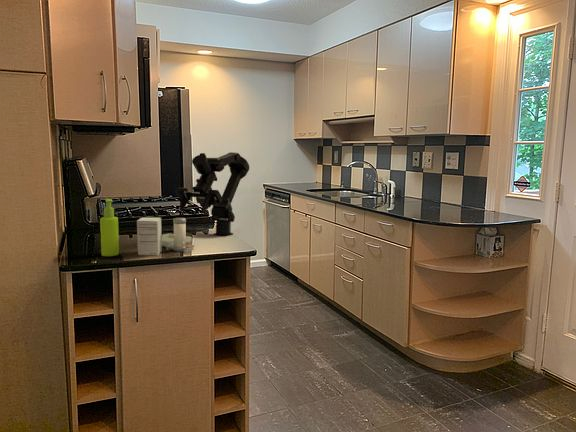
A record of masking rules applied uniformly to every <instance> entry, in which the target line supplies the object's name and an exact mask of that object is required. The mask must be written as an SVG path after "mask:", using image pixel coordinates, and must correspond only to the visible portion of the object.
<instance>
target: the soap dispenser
mask: <svg viewBox="0 0 576 432" xmlns="http://www.w3.org/2000/svg"><path fill="white" fill-rule="evenodd" d="M104 200H105V207H103V216H102V217H100V218H99V223H100V225H99V227H100V228H99V229H100V252H101V253H100V254H101V256H102V257H115V256H118V255H119V254H120V240H119V217H117V216H115V207H113V206H112V203H113V199H112V198H105V199H104Z"/></svg>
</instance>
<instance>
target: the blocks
mask: <svg viewBox="0 0 576 432" xmlns="http://www.w3.org/2000/svg"><path fill="white" fill-rule="evenodd" d="M195 246H196V245H193V244H186V249H184V251H183V252H184V253H189V252H191V251H193V250H194V247H195ZM171 250H174V245H172V246H169V247H166V251H171Z"/></svg>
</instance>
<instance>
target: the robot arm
mask: <svg viewBox="0 0 576 432" xmlns="http://www.w3.org/2000/svg"><path fill="white" fill-rule="evenodd" d="M191 163H192V165H193V167H194V168H195V170H196V172H197V174H199V175H200V176H199V178H197V179H196V180H195V182H196V184H195V186H192V188H191V190H192V191H189V190H188V188H187V187H177V188H176V190H175V194H176V196H177V197H178V198H179V211H180V212H181V213H183V211H184V209H185V207H186V205H187V204H188V203H190V201H191V198H195V200H196V203H197V204H199V206H200V207H201V209H200V214H201V215H202V214H204V213H205V212H206V211H207V210H208V209H209V208H211V211H210V214H211V218H212V222H216V223H215V232H213V235H215V236H216V235H217V236H221V237H226V236H227V237H228V236H231V235H233V234H234V232H231V228H232V227H231V225H232V222H233V223H234V222H235V218H236V217H235V214H234V212H233V206H232V202H233V199H234V197H235V194H236V191H237V190H238V186H239V185H240V182H241V180H242V179H243V178H245V177H246V176H247V174H248V172H249V171H250V164H249V162H248V161H247V159H245V158H244V157H243V156H241V154H240V153H238V152H232V151H231V152H227V153H226V154H224V155H220V156H218V157H207V154H206V153H205V152H203V153H202V152H201V153H199V154H198V155H196V156H194V157H193V158H192V160H191ZM226 166H228V167H229V172H230V176H229V179H228V181H227V184H226V186H225V188H224V191H223V193H222V195H221V192H220V191H219V190H218V189H213V188H212V186H213V183H214V182H218V176H217V173H220V172H222V171H224V170H225V167H226ZM211 206H212V207H211Z"/></svg>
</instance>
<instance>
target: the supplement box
mask: <svg viewBox="0 0 576 432" xmlns="http://www.w3.org/2000/svg"><path fill="white" fill-rule="evenodd" d="M161 235H162V217H140V218H139V219H137V220H136V236H137V242H136V243H137V256H159V255H160V253H161V252H162V251H163V248H162V247H163V246H162V237H161Z"/></svg>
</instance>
